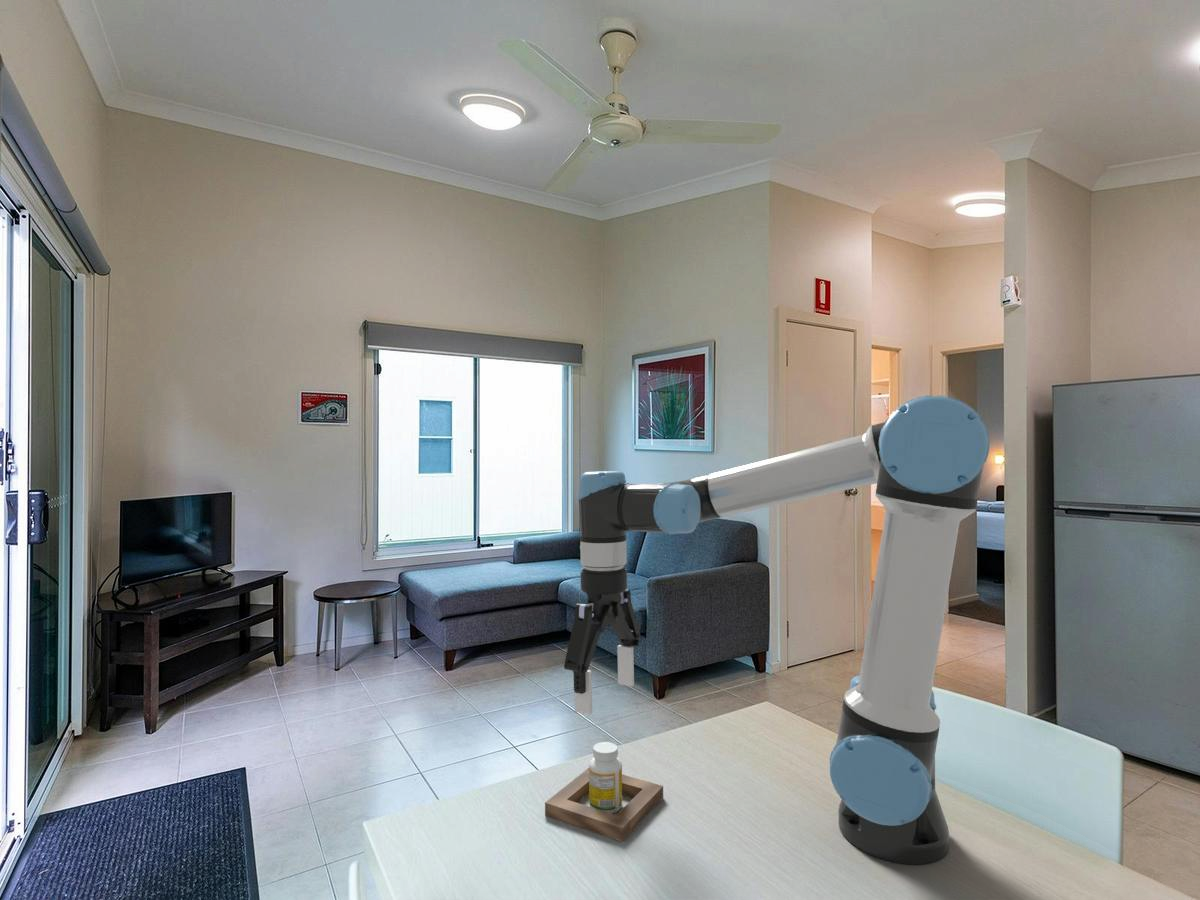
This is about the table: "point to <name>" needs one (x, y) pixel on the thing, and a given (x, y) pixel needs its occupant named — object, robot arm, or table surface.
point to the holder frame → (599, 821)
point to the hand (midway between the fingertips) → (605, 698)
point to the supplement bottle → (605, 778)
